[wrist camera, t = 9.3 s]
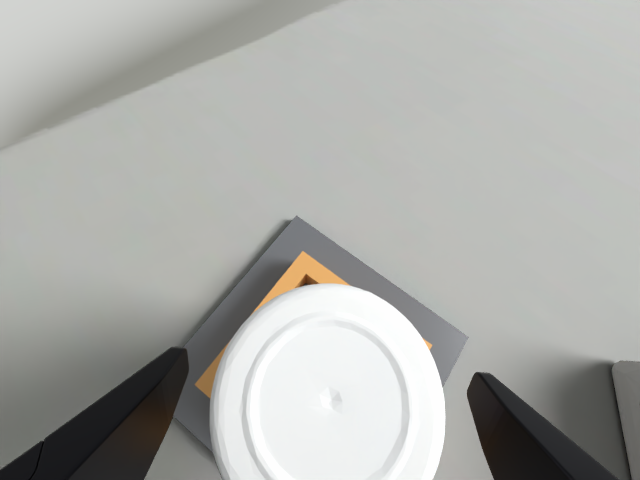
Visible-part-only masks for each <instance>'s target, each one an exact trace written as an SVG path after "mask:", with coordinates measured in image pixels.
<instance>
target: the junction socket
mask: <svg viewBox="0 0 640 480" xmlns="http://www.w3.org/2000/svg"><path fill="white" fill-rule="evenodd" d="M321 283H335V284H343V285H349V286H353V287H356V288H360V289H362V290H365V291H368V292H371V293H373V294H374V295H376V296H378V297H380V298H381V299H383V300H385V301H386V302H388V303H389V304H391V305H392V306H393V307H395V308H396V309H397V310H398V311H399V312H400V313H401V314H402V315H404V316H405V317H406V318H407V319H408V320H409V321H410V323H411V324H412V325H413V326H414V327H415V329H416V330H417V331H418V333H419V334H420V335H421V337H422V339H423V340H424V342H425V344H426V345H427V347H428V349H429V351H430V353H431V355H432V357H433V359H434V361H435V364H436V367H437V370H438V373H439V376H440V380H441V384H442V388H443V386H444V384H445V382H446V380H447V378H448V376H449V374H450V372H451V370H452V368H453V366H454V365H455V363H456V361H457V359H458V357H459V355H460V353H461V351H462V349H463V347H464V345H465V343H466V341H467V339H468V336H466V335H465V334H464V333H462V332H461V331H459V330H458V329H457V328H455V327H454V326H452V325H451V324H449V323H448V322H447V321H445V320H444V319H442V318H441V317H439V316H438V315H437V314H435V313H434V312H432V311H431V310H430V309H428V308H427V307H425V306H424V305H422V304H421V303H420V302H418V301H417V300H415V299H414V298H413V297H411V296H410V295H408V294H407V293H405V292H404V291H403V290H401V289H400V288H398V287H397V286H396V285H394V284H393V283H391V282H390V281H388V280H387V279H386V278H384V277H383V276H381V275H380V274H379V273H377V272H376V271H374V270H373V269H371V268H370V267H369V266H367V265H366V264H364V263H363V262H362V261H360V260H359V259H357V258H356V257H354V256H353V255H352V254H350V253H349V252H347V251H346V250H344V249H343V248H342V247H340V246H339V245H337V244H336V243H335V242H333V241H332V240H330V239H329V238H327V237H326V236H325V235H323V234H322V233H320V232H319V231H318V230H316V229H315V228H313V227H312V226H310V225H309V224H308V223H306V222H305V221H303V220H302V219H301V218H299V217H298V216H296V217H295V218H294V219H293V220H292V221H291V222H290V224H289V225H288V226H287V227H286V228H285V229H284V231H283V232H282V233H281V234H280V235H279V236H278V238H277V239H276V240H275V241H274V242H273V243H272V245H271V246H270V247H269V248H268V249H267V250H266V251H265V253H264V254H263V255H262V256H261V257H260V258H259V260H258V261H257V262H256V263H255V264H254V265H253V267H252V268H251V269H250V270H249V271H248V272H247V274H246V275H245V276H244V277H243V278H242V279H241V281H240V282H239V283H238V284H237V285H236V286H235V288H234V289H233V290H232V291H231V292H230V293H229V294H228V296H227V297H226V298H225V299H224V300H223V301H222V303H221V304H220V305H219V306H218V307H217V308H216V310H215V311H214V312H213V313H212V314H211V315H210V317H209V318H208V319H207V320H206V321H205V322H204V324H203V325H202V326H201V327H200V328H199V329H198V331H197V332H196V333H195V334H194V335H193V336H192V337H191V339H190V340H189V341H188V342H187V343H186V344H185V346H184V348H186V349H187V353H188V361H189V373H188V376H187V379H186V382H185V384H184V387H183V390H182V393H181V395H180V398H179V401H178V404H177V406H176V409H175V412H174V415H173V416H174V417H175V418H176V419H177V420H178V421H179V422H180V423H181V424H182V425H183V426H185V427H186V428H187V429H188V430H189V431H190V432H191V433H192V434H193V435H194V436H195V437H196V438H197V439H199V440H200V441H201V442H202V443H203V444H204V445H205V446H206V447H207V448H208V449H209V450H210V451H211V452H213V448H212V443H211V435H210V399H211V392H212V387H213V383H214V378H215V375H216V371H217V369H218V366H219V363H220V360H221V358H222V356H223V354H224V352H225V349H226V348H227V346H228V344H229V342H230V340H231V339H232V338H233V336H234V335H235V334H236V332H237V331H238V329H239V328H240V327H241V325H242V324H243V323H244V322H245V321H246V320H247V319H248V318H249V317H250V316H251V315H252V314H253V313H254V312H255V311H256V310H257V309H259V308H260V307H261V306H263V305H264V304H265V303H267V302H268V301H270V300H271V299H273V298H274V297H276V296H278V295H280V294H282V293H285V292H287V291H290V290H292V289H295V288H298V287H302V286H306V285H312V284H321Z"/></svg>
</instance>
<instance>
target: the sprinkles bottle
mask: <svg viewBox="0 0 640 480" xmlns="http://www.w3.org/2000/svg"><path fill="white" fill-rule="evenodd" d="M444 434H445V401H444V395H443V389H442V384H441V380H440V376H439V373H438V370H437V367H436V364H435V361H434V359H433V357H432V355H431V353H430V351H429V349H428V347H427V345H426V344H425V342H424V340H423V339H422V337H421V335H420V334H419V333H418V331H417V330H416V329H415V327H414V326H413V325H412V324H411V323H410V321H409V320H408V319H407V318H406V317H405V316H404V315H402V314H401V313H400V312H399V311H398V310H397V309H396V308H395V307H393V306H392V305H391V304H389V303H388V302H386V301H385V300H383V299H381V298H380V297H378V296H376V295H374V294H373V293H371V292H368V291H365V290H362V289H360V288H356V287H353V286H349V285H343V284H335V283H321V284H312V285H306V286H302V287H298V288H295V289H292V290H290V291H287V292H285V293H282V294H280V295H278V296H276V297H274V298H273V299H271V300H270V301H268V302H267V303H265V304H264V305H263V306H261V307H260V308H259V309H257V310H256V311H255V312H254V313H253V314H252V315H251V316H250V317H249V318H248V319H247V320H246V321H245V322H244V323H243V324H242V325H241V327H240V328H239V329H238V331H237V332H236V334H235V335H234V336H233V338H232V339H231V340H230V342H229V344H228V346H227V348H226V349H225V352H224V354H223V356H222V358H221V360H220V363H219V366H218V369H217V371H216V375H215V378H214V383H213V387H212V392H211V399H210V435H211V443H212V448H213V454H214V456H215V461H216V464H217V467H218V469H219V472H220V475H221V477H222V479H223V480H432V479H433V477H434V475H435V472H436V470H437V467H438V465H439V460H440V456H441V453H442V449H443V442H444Z"/></svg>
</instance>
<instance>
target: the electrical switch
mask: <svg viewBox="0 0 640 480" xmlns="http://www.w3.org/2000/svg"><path fill="white" fill-rule="evenodd" d="M612 376H613V381H614V386H615V392H616V397H617V402H618V408H619V413H620V418H621V424H622V429H623V434H624V440H625V445H626V450H627V456H628V461H629V466H630V472H631V477H632V480H640V362H635V361H619V362H617V363H615V364H614V365H613V368H612Z"/></svg>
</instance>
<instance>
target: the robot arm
mask: <svg viewBox="0 0 640 480" xmlns="http://www.w3.org/2000/svg"><path fill="white" fill-rule="evenodd" d="M188 373H189V361H188V353H187V349H186V348H184V347H171V348H170V349H168V350H167V351H165V352H164V353H163V354H161V355H160V356H158V357H157V358H156V359H154V360H153V361H152V362H150V363H149V364H147V365H146V366H145V367H143V368H142V369H140V370H139V371H138V372H136V373H135V374H133V375H132V376H131V377H129V378H128V379H127V380H125V381H124V382H122V383H121V384H120V385H118V386H117V387H115V388H114V389H113V390H111V391H110V392H108V393H107V394H106V395H104V396H103V397H102V398H100V399H99V400H97V401H96V402H95V403H93V404H92V405H90V406H89V407H88V408H86V409H85V410H83V411H82V412H81V413H79V414H78V415H77V416H75V417H74V418H72V419H71V420H70V421H68V422H67V423H65V424H64V425H63V426H61V427H60V428H58V429H57V430H56V431H54V432H53V433H52V434H50V435H49V436H47V437H46V438H45V439H44V441H40V442H39V443H37V444H36V445H35V446H33V447H32V448H31V449H29V450H28V451H26V452H25V453H24V454H22V455H21V456H19V457H18V458H16V459H15V460H14V461H12V462H11V463H9V464H8V465H6V466H5V467H4V468H2V469H1V470H0V480H144V478H145V476H146V474H147V472H148V470H149V468H150V466H151V464H152V462H153V459H154V457H155V455H156V453H157V451H158V449H159V447H160V445H161V443H162V441H163V439H164V436H165V434H166V432H167V430H168V428H169V425H170V423H171V420H172V418H173V415H174V412H175V409H176V406H177V404H178V401H179V398H180V395H181V393H182V390H183V387H184V384H185V382H186V379H187V376H188ZM467 397H468V401H469V405H470V408H471V412H472V415H473V419H474V422H475V426H476V429H477V432H478V436H479V439H480V443H481V446H482V449H483V452H484V455H485V457H486V460H487V463H488V465H489V468H490V470H491V473H492V476H493V478H494V480H619V479H618V478H617V477H615V476H614V475H613V474H612V473H610V472H609V471H608V470H607V469H606V468H604V467H603V466H602V465H601V464H600V463H598V462H597V461H596V460H595V459H593V458H592V457H591V456H590V455H589V454H587V453H586V452H585V451H584V450H583V449H581V448H580V447H579V446H578V445H576V444H575V443H574V442H573V441H572V440H570V439H569V438H568V437H567V436H566V435H564V434H563V433H562V432H561V431H559V430H558V429H557V428H556V427H555V426H553V425H552V424H551V423H550V422H549V421H547V420H546V419H545V418H544V417H542V416H541V415H540V414H539V413H538V412H536V411H535V410H534V409H533V408H532V407H530V406H529V405H528V404H527V403H525V402H524V401H523V400H522V399H521V398H519V397H518V396H517V395H516V394H515V393H513V392H512V391H511V390H510V389H509V388H507V387H506V386H505V385H504V384H502V383H501V382H500V381H499V380H498V379H496V378H495V377H494V376H493V375H491V374H490V373H484V372H476V373H475V374H474V375H473V378H472V380H471V382H470V385H469V387H468V390H467Z"/></svg>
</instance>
